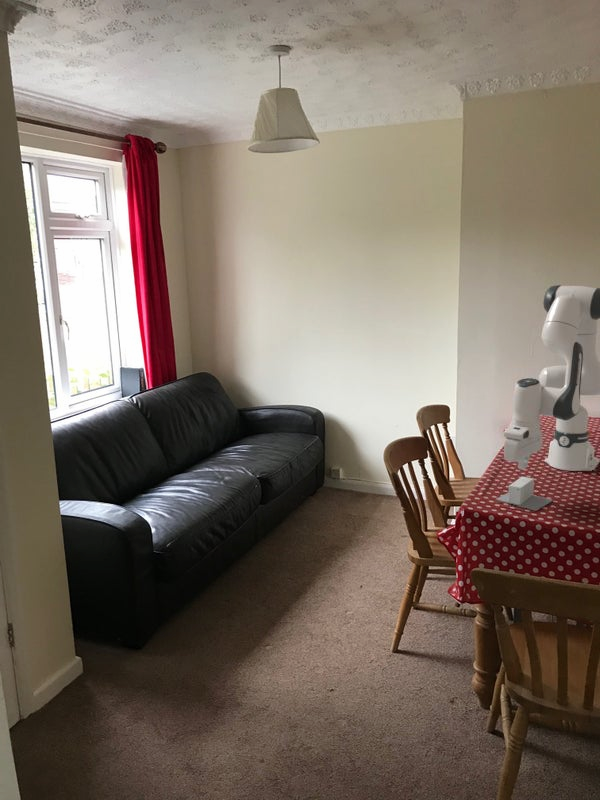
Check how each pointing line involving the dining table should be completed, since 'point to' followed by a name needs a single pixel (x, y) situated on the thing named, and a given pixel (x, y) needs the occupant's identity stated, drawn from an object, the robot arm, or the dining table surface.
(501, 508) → the dining table surface
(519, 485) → the skincare box
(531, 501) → the mat
